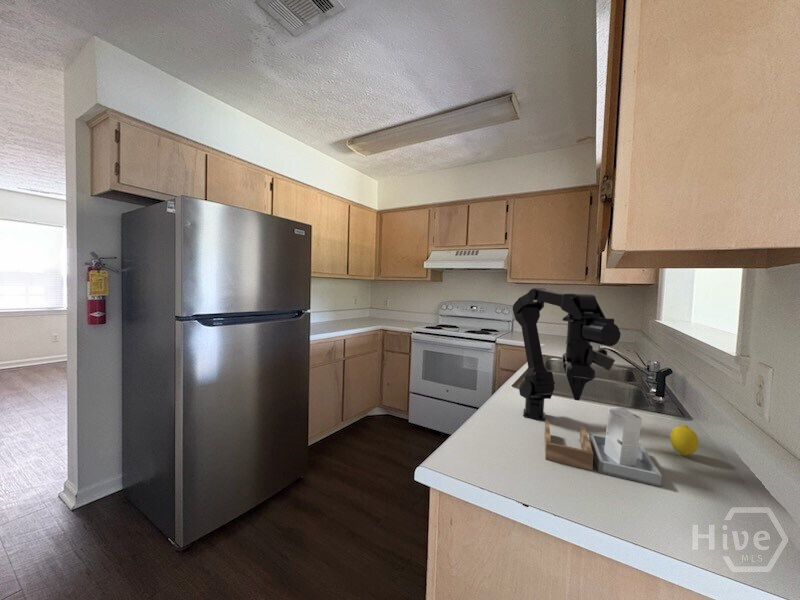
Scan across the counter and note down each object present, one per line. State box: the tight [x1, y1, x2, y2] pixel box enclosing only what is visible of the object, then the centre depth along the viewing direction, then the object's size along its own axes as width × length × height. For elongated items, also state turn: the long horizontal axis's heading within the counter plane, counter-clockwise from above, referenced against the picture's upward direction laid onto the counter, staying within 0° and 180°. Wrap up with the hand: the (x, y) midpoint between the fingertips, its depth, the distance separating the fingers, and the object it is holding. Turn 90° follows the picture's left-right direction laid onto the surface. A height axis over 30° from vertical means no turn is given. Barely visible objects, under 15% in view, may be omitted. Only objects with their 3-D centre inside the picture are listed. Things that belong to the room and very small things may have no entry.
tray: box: [588, 433, 663, 488], centre depth 78 cm, size 16×12×3 cm
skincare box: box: [604, 406, 643, 466], centre depth 78 cm, size 6×4×12 cm
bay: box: [543, 419, 594, 471], centre depth 83 cm, size 16×10×4 cm, turn 156°
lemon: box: [669, 424, 700, 457], centre depth 82 cm, size 6×6×8 cm
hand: (574, 394), depth 88 cm, fingers open, 9 cm apart
